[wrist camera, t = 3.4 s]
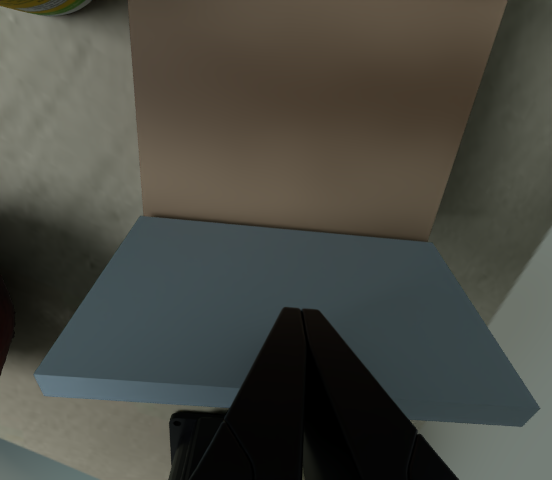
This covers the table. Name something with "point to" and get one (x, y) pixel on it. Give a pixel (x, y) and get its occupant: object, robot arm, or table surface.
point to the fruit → (5, 322)
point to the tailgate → (264, 311)
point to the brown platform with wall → (305, 109)
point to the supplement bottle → (45, 6)
